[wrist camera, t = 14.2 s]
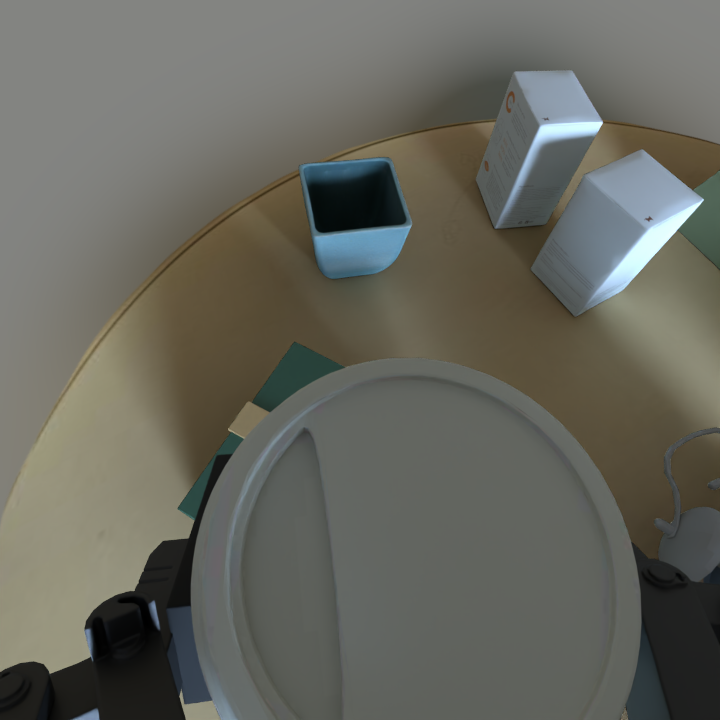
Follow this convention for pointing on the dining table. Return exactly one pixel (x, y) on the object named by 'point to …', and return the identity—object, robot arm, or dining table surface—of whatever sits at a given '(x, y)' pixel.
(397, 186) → the flower pot
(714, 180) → the green gift bag
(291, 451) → the coffee cup
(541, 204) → the small box
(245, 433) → the green parcel box
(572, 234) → the white packaging box
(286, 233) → the dining table surface
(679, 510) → the alarm clock
